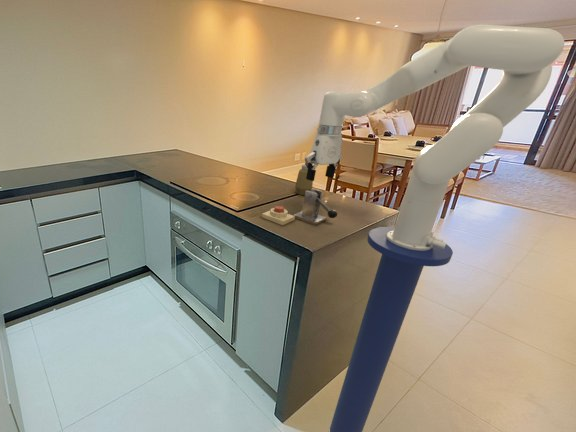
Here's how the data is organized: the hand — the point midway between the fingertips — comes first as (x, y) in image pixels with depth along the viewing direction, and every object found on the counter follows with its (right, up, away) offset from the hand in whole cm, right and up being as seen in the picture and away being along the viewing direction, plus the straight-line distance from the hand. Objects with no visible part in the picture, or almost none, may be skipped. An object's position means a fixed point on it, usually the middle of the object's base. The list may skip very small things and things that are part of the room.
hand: (319, 178), depth 108 cm
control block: (-12, -15, +11) cm, 22 cm away
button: (-12, -12, +10) cm, 20 cm away
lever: (+3, -10, +6) cm, 13 cm away
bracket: (+1, -15, +11) cm, 19 cm away
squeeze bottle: (+9, -3, +40) cm, 41 cm away
